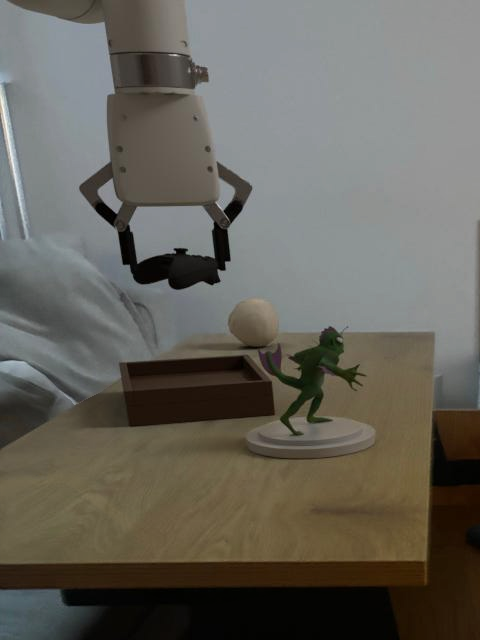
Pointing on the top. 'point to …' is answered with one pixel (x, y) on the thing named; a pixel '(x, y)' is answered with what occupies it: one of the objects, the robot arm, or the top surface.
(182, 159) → the robot arm
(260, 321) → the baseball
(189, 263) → the gaming controller
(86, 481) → the top surface
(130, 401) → the tray
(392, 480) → the top surface
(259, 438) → the monster figurine
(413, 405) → the top surface
